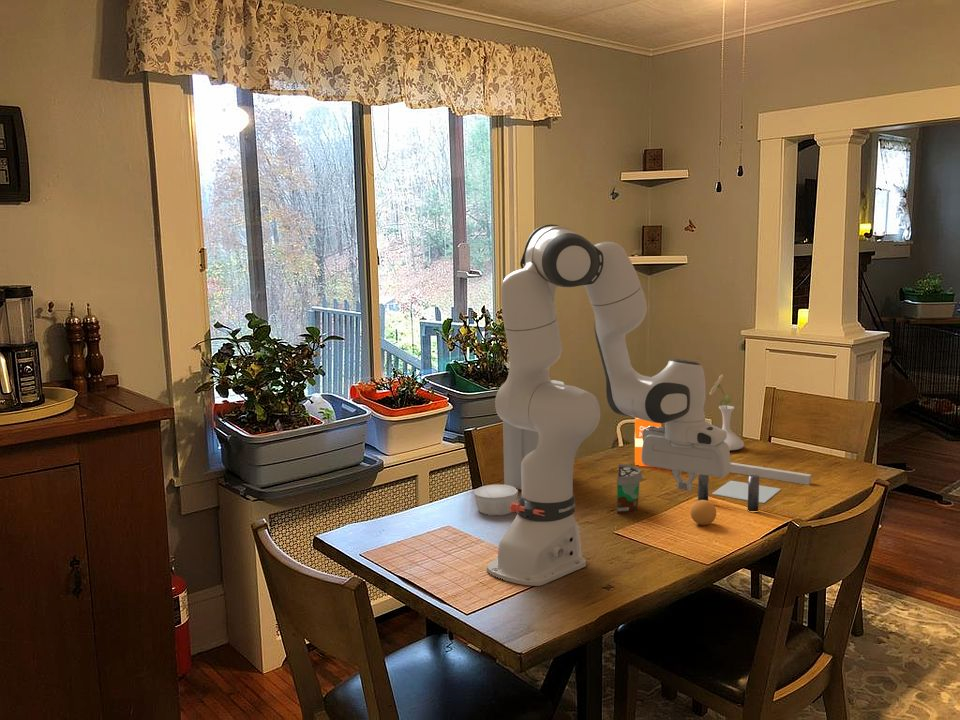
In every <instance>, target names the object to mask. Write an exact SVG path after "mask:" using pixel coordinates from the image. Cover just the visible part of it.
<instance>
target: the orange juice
mask: <svg viewBox="0 0 960 720" xmlns="http://www.w3.org/2000/svg"><path fill="white" fill-rule="evenodd" d="M648 426H654V427H662V423H653V422H650V421H646V420H642V419H638V418H635V417H634V466H635V465H639V466H638V467H648V466H647V465H644V464H643V462H642V460H641V455H642V447H643V439H642V433H643V430H644V429H645V428H647V427H648ZM646 430H648V429H646Z"/></svg>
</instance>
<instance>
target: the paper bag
mask: <svg viewBox="0 0 960 720" xmlns="http://www.w3.org/2000/svg"><path fill="white" fill-rule="evenodd" d="M550 381H551V383H556V384H563V385H565V382H564V381H560V380H555V379H552V380H551V379H550ZM502 431H503V432H502V433H503V435H502V436H503V438H502V439H503V441H502V442H503V481H504V482H503V483H504V484H503V485H509V486H512V487H515V488H517V490H522V477H521V464H522V461H523V459H524V457H525V456H526V455H527V454H528V453H530V452H531V451H533V450H535V449H536V448H537V445H538V440H539V434H538V432H534V431H530V430H525V429H520V428H517V427H515V426H513V425H511V424H509V423H507V422H505V421H503V420H502Z"/></svg>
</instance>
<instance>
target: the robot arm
mask: <svg viewBox="0 0 960 720" xmlns="http://www.w3.org/2000/svg"><path fill="white" fill-rule="evenodd" d="M519 266H520V269H516V270H514V271H512V272H510V273H508V275H506V276H505V277H504V279H503V280H502V282H501V287H500V291H501V292H500V298H501V312H502V314H501V315H502V322H503V327H504V332H505V338H506V343H507V344H506V345H507V349H508V350H507V351H508V358H509V366H508V367H509V369H508V375H507V378H506V380H505V381H504V383H502V384H501V386H500V387H499V389H498V390H497V392H496V395H495V398H494V399H495V400H494V407H495V411H496V414H497V415H498V417H499V419H500V420H501V421H502V422H503V421H505V422H507V423H509V424H511V425H513V426H515V427H517V428H520V429H525V430H530V431H534V432H538V434H539V440H538V445H537V448H536V449H535V450H533V451H531V452H530V453H528V454H527V455H526V456H525V457H524V459H523V461H522V464H521V477H522V489H521V493H520V495H519V499H518V501H517V502H518V503H517V502H516V503H515V502H512V503H511V505H510V510H511V513H516V516H515V518H514V519H513V521H512V522H511V524H510V525H509V526H508V528H507V530H506V532H505V533H504V534H503V536H502V538H501V539H500V540H499V543H498V550H497V556H496V557H495V559H494V560H492V561H491V562H489V564H488V565H487V566H486V572H487V571H488V572H489V573H490V575H491V574H492V575H491V576H493V577H495V576H496V577H495V578H497V577H498V578H497V579H500V578H501V579H500V580H502V579H503V581H506V582H508V583H509V582H510V583H512V584H513V583H514V584H517V585H523V586H531V587H532V586H533V587H534V586H535V587H537V586H539V587H540V586H544V585H546V584H549V583H550V582H552V581H555V580H557V579H559V578H562V577H564V576H566V575H568V574H571V573H573V572H575V571H578V570H580V569H582V568H585V567H587V561H586V559H585V558H584V557H583V556H582V555H583V554H582V544H581V543H582V541H581V535H580V534H581V532H580V527H579V524H578V523H577V521H576V518H575V514H574V513H576V498H575V494H574V491H573V490H574V488H573V487H574V486H573V485H574V484H573V481H574V480H573V479H574V463H575V458H576V455H577V452H578V449H579V447H580V445H582V442H583V441H584V440H585V439H587V438H588V437H589V436H591V435H592V434H593V432H594V431H595V430H596V429H597V428H598V426H599V423H600V419H601V408H600V407H601V406H600V403H599V400H598V398H597V397H596V395H594V394H593V393H591V392H590V391H587V390H585V389H582V388H580V387H578V386H575V385H568V384H564V385H563V384H556V383H551V381H550V380H551V379H550V375H549V374H550V367H552V366H553V365H554V364H555V363H557V362H558V360H559V359H560V358H561V356H562V353H563V345H562V340H561V339H562V338H561V334H560V328H559V327H560V326H559V321H558V315H557V311H556V307H555V295H556V291H557V288H558V287H561V288H575V287H576V288H577V287H580V286H583V287H584V289H585V291H586V294H587V297H588V300H589V302H590V306H591V308H592V311H593V315H594V325H593V327H594V336H595V340H596V344H597V348H598V352H599V356H600V360H601V364H602V367H603V370H604V371H603V372H604V374H605V375H604V376H605V382H606V383H605V384H606V385H605V386H606V387H605V389H606V400H607V403H608V406H609V408H610V409H611V411H613V412H614V413H615V414H617V415H620V416H625V417H630V418H631V417H632V418H634V419H635V418H638V419H642V420H646V421H650V422H653V423H661V424H664V427H663V426H661V427H654V426H648V427H647V428H645V429H644V430H643V433H642V439H643V447H642V455H641V460H642V462H643V464H644V465H647V466H646V467H654V468H660V469H666V470H671V471H672V473H671V474H672V476H673V478H674V480H675V481H676V489H677V490H683V491H686V492H687V491H688V492H690V491H691V490H693V482H694V480H695V479H696V478H697V476H698V474H702V475H708V476H709V477H715V478H724V477H726V476H727V475H728V474H729V473H730V469H731V462H732V461H731V452H730V451H731V450H729V447H728V445H727V444H726V443H725V442H724V440H725V439H726V438H727V433H726V431H725V430H723V429H722V428H720V427H718V426H716V425H713V424H712V423H710V422H707V421H706V414H705V409H704V407H705V402H706V397H707V396H706V395H707V392H706V386H707V385H706V376H705V370H704V368H703V366H702V364H700V363H699V362H696V361H691V360H685V359H679V358H674V359H669V360H668V362H667V365H665V367H664V368H663V369H662V370H661V371H660V372H658V373H657V374H655V375H653V376H647V375H643V374H641V373H639V372H637V370H635V369H634V367H633V366H632V362H631V358H630V354H629V350H628V348H627V343H626V335H628V334H629V333H630V332H632V331H634V330H635V329H636V328H638V327H639V326H640V325H641V324H642V323H643V321H644V319H645V317H646V315H647V312H648V305H647V304H648V303H647V299H646V294H645V292H644V290H643V289H644V288H643V287H642V284H641V281H640V278H639V276H638V273H637V270H636V268H635V267H634V265H633V262H632V261H631V259H630V257H629V255H628V254H627V252H626V250H625V249H624V247H623V246H621V244H620V243H617V242H614V241H602V242H598V243H596V244H593V243H592V242H590V241H589V240H588V239H587V238H585V237H584V236H582V235H580V234H578V233H577V232H575V231H574V230H572V229H570V228H568V227H565V226H561V225H559V224H558V225H557V224H545V225H541V226H539V227H538V228H536V229H535V230H533V231H532V232H531V233H530V235H529V237H528V239H527V240H526V243H525V246H524V251H523V253H522V257H521V259H520V263H519ZM646 429H648V430H646ZM684 472H685V473H687V477H689V478H688V479H687V480H685V479H684V480H683V477H682V475H681V473H684ZM488 572H487V573H488ZM489 573H488V574H489Z"/></svg>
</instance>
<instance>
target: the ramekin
mask: <svg viewBox="0 0 960 720" xmlns="http://www.w3.org/2000/svg"><path fill="white" fill-rule="evenodd" d="M473 494H474V497H475V501H476V507H477V510H478V511H479V512H480V513H481V512H482V513H481V514H483V513H484V514H483V515H486V514H488V515H487V516H492V515H498V516H505V514H506V515H509V514H511V513H512V512H511V510H510V505H511V503H512V502H515V503H517V499H518V495H519V489H516V488H515V487H512V486H509V485H504V484H487V485H482V486H480V487H478V488H476V489H475V490H474V491H473Z"/></svg>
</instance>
